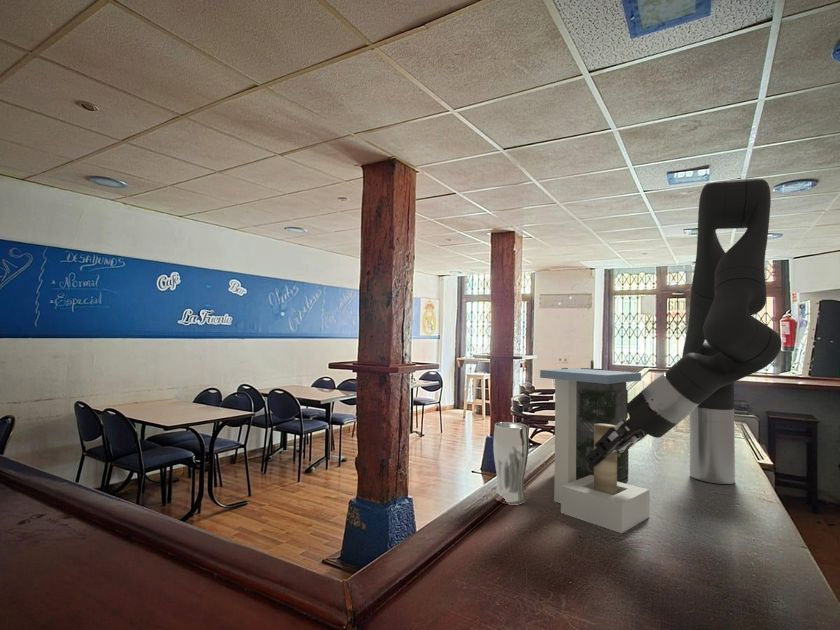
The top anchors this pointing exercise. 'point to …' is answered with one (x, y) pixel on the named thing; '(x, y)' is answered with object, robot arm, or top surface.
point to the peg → (605, 465)
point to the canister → (598, 421)
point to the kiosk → (572, 493)
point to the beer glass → (510, 460)
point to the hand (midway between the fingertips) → (595, 460)
